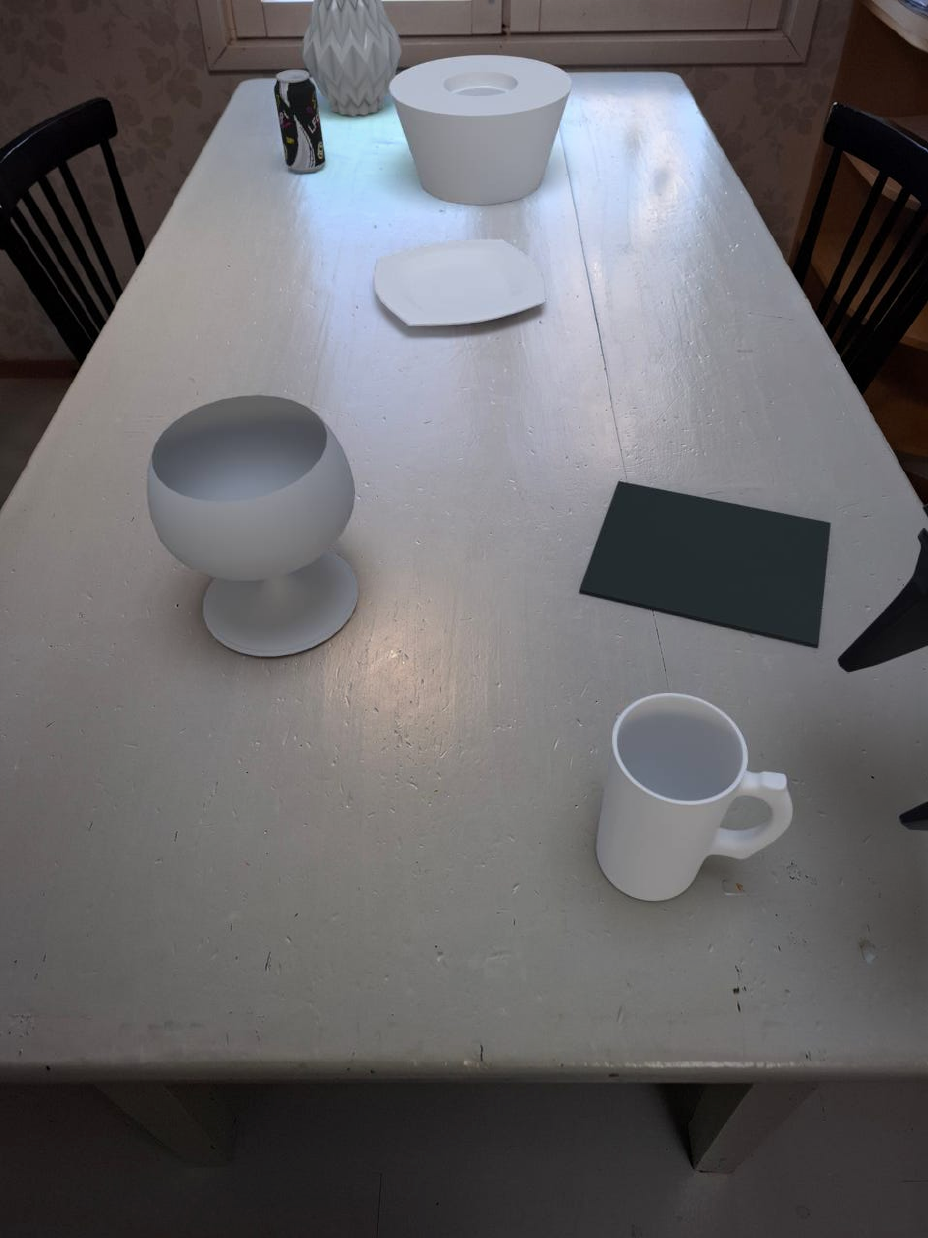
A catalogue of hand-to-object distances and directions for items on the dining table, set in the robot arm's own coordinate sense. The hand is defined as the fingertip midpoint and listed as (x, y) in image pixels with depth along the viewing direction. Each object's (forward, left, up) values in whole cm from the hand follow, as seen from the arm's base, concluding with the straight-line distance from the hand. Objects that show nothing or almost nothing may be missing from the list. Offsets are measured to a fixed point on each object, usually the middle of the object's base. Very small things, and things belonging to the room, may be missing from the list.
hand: (870, 739), depth 42 cm
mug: (+7, +3, -13) cm, 15 cm away
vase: (+80, -113, -13) cm, 140 cm away
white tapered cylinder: (+51, -91, -13) cm, 106 cm away
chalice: (+40, -9, -13) cm, 43 cm away
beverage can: (+77, -88, -13) cm, 118 cm away
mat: (+9, -24, -13) cm, 29 cm away
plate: (+43, -59, -13) cm, 75 cm away
